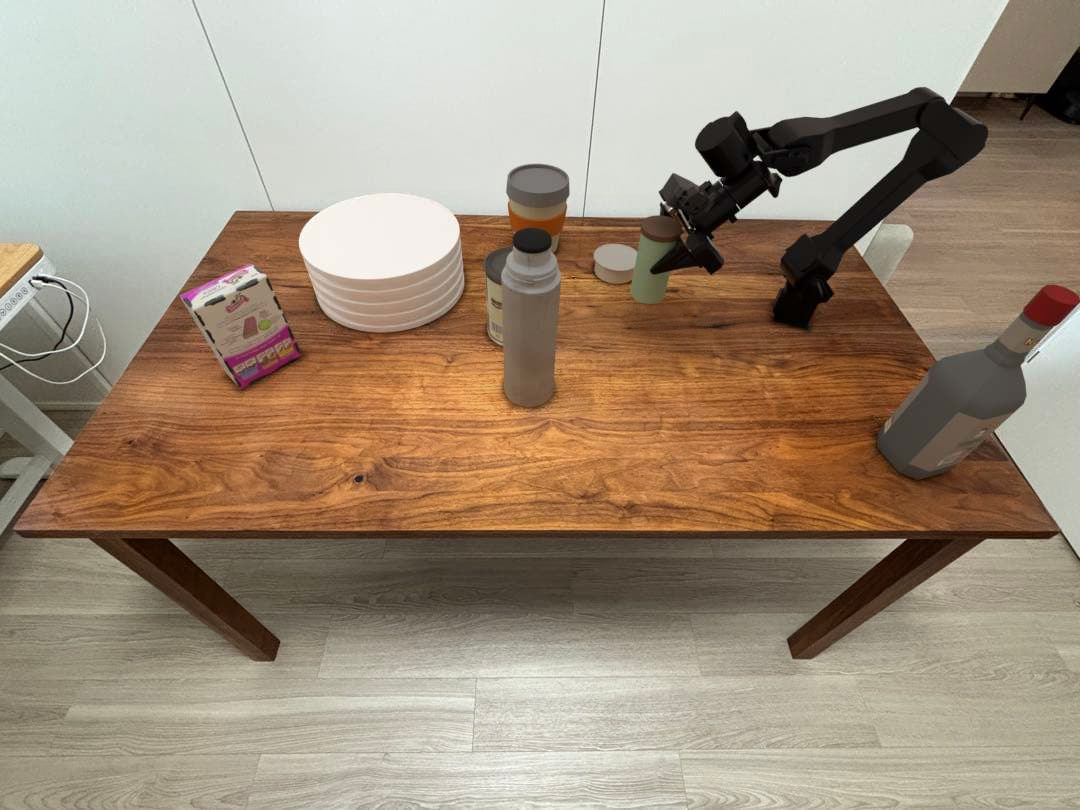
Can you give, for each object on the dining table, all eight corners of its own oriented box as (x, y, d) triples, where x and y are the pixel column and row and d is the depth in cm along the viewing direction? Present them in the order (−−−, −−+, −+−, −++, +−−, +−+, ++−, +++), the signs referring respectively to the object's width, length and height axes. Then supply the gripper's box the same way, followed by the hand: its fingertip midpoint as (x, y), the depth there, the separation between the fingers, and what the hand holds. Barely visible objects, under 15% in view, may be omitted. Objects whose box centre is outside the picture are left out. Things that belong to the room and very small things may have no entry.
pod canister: (673, 294, 94) (690, 227, 84) (649, 309, 91) (665, 242, 81) (644, 277, 97) (658, 211, 87) (621, 292, 94) (633, 224, 84)
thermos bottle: (514, 366, 91) (513, 214, 70) (559, 378, 89) (572, 226, 68) (496, 399, 86) (490, 246, 65) (543, 412, 84) (552, 260, 63)
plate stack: (490, 299, 103) (488, 246, 94) (350, 353, 92) (332, 299, 83) (425, 231, 117) (417, 180, 109) (297, 270, 106) (277, 217, 98)
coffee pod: (641, 263, 112) (644, 249, 109) (632, 289, 106) (635, 274, 103) (598, 254, 114) (600, 239, 111) (586, 279, 108) (588, 264, 105)
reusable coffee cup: (505, 230, 118) (503, 163, 107) (561, 229, 120) (565, 162, 108) (509, 263, 110) (508, 194, 99) (569, 261, 112) (575, 193, 100)
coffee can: (548, 316, 100) (552, 250, 89) (537, 353, 93) (540, 286, 83) (495, 307, 101) (492, 241, 90) (480, 343, 94) (475, 276, 84)
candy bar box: (287, 342, 93) (252, 261, 81) (303, 356, 91) (269, 275, 78) (225, 375, 87) (176, 293, 75) (240, 391, 85) (193, 309, 73)
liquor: (957, 471, 80) (1132, 313, 57) (907, 485, 78) (1067, 327, 55) (913, 425, 85) (1056, 264, 63) (865, 437, 83) (995, 276, 61)
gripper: (683, 131, 83) (605, 201, 90) (725, 191, 70) (631, 266, 78) (718, 179, 89) (642, 241, 96) (762, 241, 77) (672, 306, 84)
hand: (646, 261), depth 89 cm, fingers closed on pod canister, 6 cm apart
